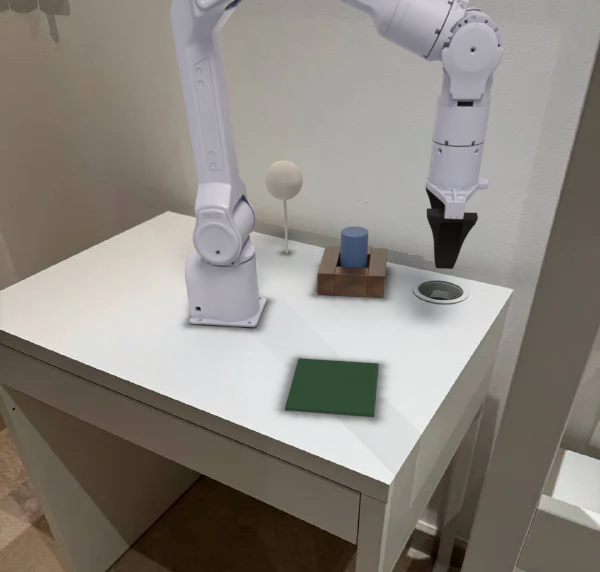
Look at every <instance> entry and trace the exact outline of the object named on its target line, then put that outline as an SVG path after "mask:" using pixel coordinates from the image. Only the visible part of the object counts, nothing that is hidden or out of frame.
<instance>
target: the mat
mask: <svg viewBox="0 0 600 572" xmlns="http://www.w3.org/2000/svg"><path fill="white" fill-rule="evenodd" d="M379 365H380V363H378V362H363V361H362V362H361V361H349V360H348V361H347V360H333V359H332V360H331V359H319V358H301V357H300V358H298V359H297V362H296V366H295V370H294V374H293V376H292V377H293V378H292V381H291V384H290V387H289V392H288V396H287V399H286V403H285V406H284V410H285V411H291V412H293V411H294V412H306V413H318V414H331V415H344V416H357V417H370V418H375V413H376V412H375V410H376V401H377V400H376V398H377V389H378V377H379V367H380V366H379Z"/></svg>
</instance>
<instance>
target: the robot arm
mask: <svg viewBox="0 0 600 572" xmlns="http://www.w3.org/2000/svg"><path fill="white" fill-rule="evenodd" d="M337 1H338V2H340V3H342V4H345V5H347V6H349V7H351V8H353V9H355V10H358V11H360V12H362V13H364V14H366V15H368V16H369V18H370V20H371V23H372V26H373V29H374V33H375V35H376V37H377V36H378V37H379V38H381V39H383V40H385V41H387V42H389V43H391V44H393V45H395V46H397V47H399V48H401V49H403V50H405V51H407V52H409V53H411V54H413V55H415V56H417V57H419V58H421V59H423V60H425V61H427V62H434V61H440V62H441V63H442V68H441V76H440V85H439V91H438V92H437V95H436V100H435V110H434V119H433V127H432V137H431V138H432V139H431V148H430V156H429V166H428V173H427V174H428V176H427V177H426V178H425V192H426V194H427V197H428V201H429V204H430V208H428V207H427V208H426V219H427V222H428V225H429V227H430V230H431V233H432V241H433V259H434V260H433V261H434V266H435V269H440V270H441V269H442V270H443V269H444V270H453V269H454V268H455V266H456V263H457V260H458V258H459V255H460V252H461V249H462V247H463V246H464V245H463V244H464V243H465V240H466V239H467V236H468V235H469V233H470V231H472V229H473V227H474V226H475V225H476V223H477V222H478V219H479V216H478V212H467V211H466V212H465V209H466V204H467V202H468V201H469V200H471V198H472V197H473V196H474V194H476V192H478V191H479V190H487V189H488V188H489V183H490V182H489V180H488V178H486V177H480V171H481V166H482V165H481V164H482V160H483V159H482V158H483V152H484V147H485V141H486V134H487V127H488V121H489V114H490V109H491V103H492V94H491V91H492V86H493V85H494V72H495V71H496V70H497V68H498V67H499V66H500V64H501V62H502V59H503V57H504V52H505V49H504V48H503V37H502V32H501V30H500V28H499V26H498V25H497V23H496V22H495V21H494V20H493V19H492V18H491V17H490V16H489V15H488V14H487V13H485V12H483V11H482V9H481V8H479V7H469V6H470V5H469V4H470V0H337ZM241 2H243V0H172V2H171V5H170V8H169V20H170V26H171V27H170V28H171V32H172V38H173V43H174V44H173V45H174V49H175V56H176V62H177V68H178V74H179V79H180V84H181V90H182V97H183V102H184V108H185V114H186V120H187V126H188V131H189V137H190V143H191V149H192V155H193V160H194V165H195V166H194V167H195V172H196V178H197V183H198V184H197V192H196V198H195V203H194V214H195V226H194V228H193V231H192V245H193V247H194V249H195V251H191V252H189V253H188V255H187V257H186V261H185V264H184V265H185V266H184V281H185V287H186V293H187V301H188V306H189V312H190V318H189V323H190V324H193V325H209V326H227V327H241V328H242V327H243V328H256V327H257V326H258V323H259V322H260V318H261V316H262V313H263V312H264V309H265V306H266V304H267V302H268V298H267V297H266V296H259V283H258V272H257V257H256V247H255V245H254V244H253V242H252V239H251V236H250V235H251V234H252V233H253V231H254V229H255V227H256V224H257V213H256V210H255V208H254V205H253V204H252V202H251V201H250V199H249V197H248V194H247V187H246V186H247V185H246V184H245V182H244V180H243V179H242V177H241V175H240V172H239V164H238V155H237V148H236V141H235V134H234V126H233V117H232V109H231V102H230V93H229V86H228V78H227V70H226V63H225V55H224V48H223V39H222V28H223V26H224V25H225V24H226V22H227V21H228V20H229V18H230V17H231V15H232V14H233V13H234V12H235V10H236V9H237V8H238V6H239V4H240V3H241Z"/></svg>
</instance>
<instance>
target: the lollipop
mask: <svg viewBox="0 0 600 572" xmlns="http://www.w3.org/2000/svg"><path fill="white" fill-rule="evenodd" d="M264 183H265V187H266V189H267V191H268V193H269V194H270V195H271V197H273V198H274V199H276V200H280V201H283V223H284V244H285V246H284V247H285V248H284V249H285V254H289V236H288V235H289V234H288V211H287V210H288V209H287V201H289V200H291V199H294V198H295V197H296V196H297V195H298V194H299V193H300V192H301V189H302V187H303V183H304V179H303V173H302V171H301V169H300V168H299V167H298V165H297V164H295V163H294V162H293V161H290V160H286V159H285V160H284V159H282V160H278V161H276V162H273V163H272V164H271V165H270V166H269V167H268V169H267V171H266V173H265V175H264Z"/></svg>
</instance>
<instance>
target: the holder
mask: <svg viewBox="0 0 600 572" xmlns="http://www.w3.org/2000/svg"><path fill="white" fill-rule="evenodd" d="M388 249H389V248H387V247H368V251H367V268H356V267H340V260H341V246H340V245H339V246H338V245H337V246H335V245H324V250H323V253H322V256H321V259H320V263H319V266H318V269H317V274H316V275H317V276H316V277H317V280H316V281H317V295H318V296H320V295H322V296H336V297H337V296H339V297H358V298H379V299H380V298H382V299H383V298H385V287H386V278H387V277H386V276H387V263H388Z"/></svg>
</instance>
